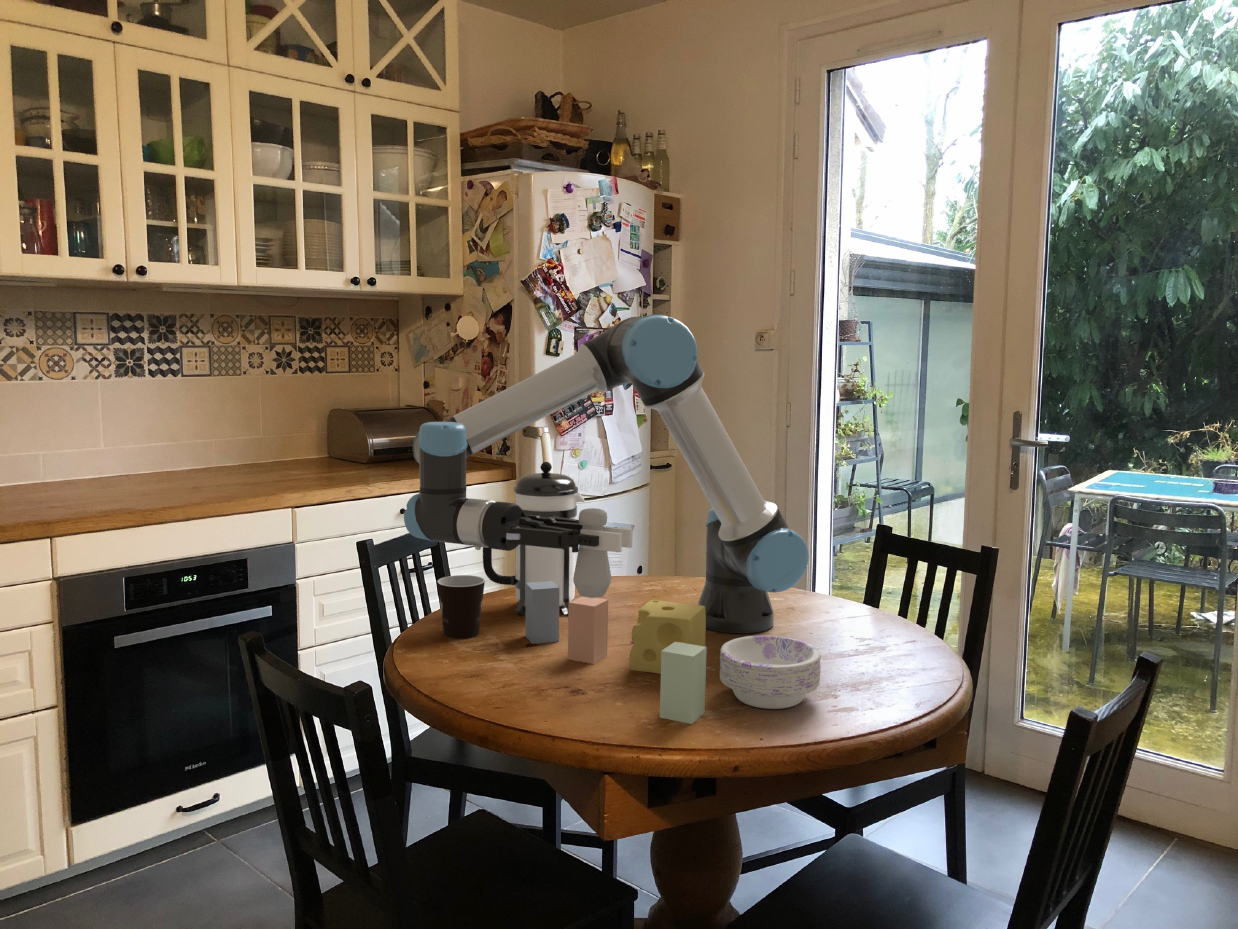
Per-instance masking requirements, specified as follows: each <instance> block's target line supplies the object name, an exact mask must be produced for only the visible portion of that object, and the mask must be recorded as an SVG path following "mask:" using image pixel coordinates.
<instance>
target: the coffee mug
mask: <svg viewBox="0 0 1238 929" xmlns="http://www.w3.org/2000/svg"><path fill="white" fill-rule="evenodd" d="M436 582H437V591H438V596H439V606H440V613H441V622H442V630H443V635H444V636H445V638H450V639H455V640H463V639H464V640H465V639H471V638H475V637H477V636H478V635H479V634H480V626H481V618H482V609H483V601H484V591H485V582H486V579H485V578H484V577H481V576H477V575H470V574H469V575H467V574H466V575H464V574H462V575H461V574H459V575H458V574H457V575H450V576H444V577H441V578H439V579H437V581H436Z"/></svg>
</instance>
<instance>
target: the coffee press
mask: <svg viewBox="0 0 1238 929" xmlns="http://www.w3.org/2000/svg"><path fill="white" fill-rule="evenodd" d="M540 469H541V472H538V473H531V474H526V475H523V476H521V477H520V478H519V479H518V480H517V481H516V484H515V486H513V492H514V494H515V504H517V505H519V506H520V507H521V509H522V510H523V513H524V515H525V516H526V517H527V518H528V515H539V516H540V517H547V516H548V515H553V516H557V517H561V518H569V519H576V518H577V517H576V516H577V514H578V506H577V503H584V502H586V500H585V498H584V497H583V496H582V494H581V493H580V492H579V488H578V486H577V485H576V482H575V480H574V479H573V478H571V476H569V475H565V474H561V473H554V472H553V473H551V470H552V469H553V467H552V464H551V463H550V462H548V461H543V462H542V463H541V464H540ZM576 520H577V519H576ZM492 552H493V549H491V548H485V547H482V565H483V571H484V573H485V576H486V577H487V578H488V579H489V580H490V581H491V582H493V583H495V584H499V585H505V586H506V585H508V586H514V587H515V598H516V600H517V602H518V603H517V605H516V608H515V610H514V612H515V614H517V615H520V616H524V615H526V583H531V582H546V581H553V582H554V583H555V584H556V585H557V586H558V587H559V610H561V612H562V614H563V615H564V616H568V608H569V602H571V601H573V600H575V599H574V598H575V591H576V586H575V584H574V582H573V577H574V572H575V567H576V552H575V553H574V552H572V547H569V549H566V550H563V549H557V548H547V547H538V546H528V545H518V546H517V547H516V548H515V575H501V574H498V573H497V572H496V571H495V570H494V568H493V559H492V558H493V554H492Z"/></svg>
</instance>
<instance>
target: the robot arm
mask: <svg viewBox="0 0 1238 929" xmlns="http://www.w3.org/2000/svg"><path fill="white" fill-rule="evenodd" d="M698 357H699V356H698V346H697V341H696V339H695V337H694V335H693V333H692V332H691V330H690V329H689V328H688V327H687V326H686V324H684V323H683V322H681V321H680V320H678V319H675V318H674V317H671V316H668V315H664V314H647V315H644V316H643V315H642V316H631V317H628V318H625V319H622V320H621V321H619V322H618V323H615V324H614V325H612V326H610V328H608V329H606V330H605V331H602V332H601V333H600V334H598V335H597V336H595V337H593V338H591V339H589V340H588V341H586V342H584V343H581V344H580V345H579V348H578V350H577V352H576V353H574V354H573V355H571V356H569V357H567V358H565V359H563V360H561V361H559V362H557V363H555V364H553V365H551V366H549V367H547V368H545V369H543V370H541V371H539V372H538V373H534V374H533V375H531V376H529V377H527V378H524V380H521V381H519V382H518V383H516V384H514V385H512V386H509V387H508V388H506V389H504V390H502V391H500V392H497V393H496V394H494V395H492V396H490V397H488V398H486V399H484V400H482V401H480V402H478V403H476V404H474V405H472V406H470V407H468V408H466V409H464V410H462V411H460V412H458V413H456V414H455V415H452V416H451V417H449V418H447V419H445V420H443V421H428V422H424V423H422V424H421V425H420V426H419V431H418V433H417V434H416V435H415V437H414V439H413V443H412V452H413V458H414V459H415V461H416V462H417V463H418V466H419V467H418V468H419V470H418V471H419V491H418V493H416V494H414V495H412V496H411V497H410V498H409V500H407V503H406V506H405V507H406V510H404V512H403V522H404V526H405V528H406V531H407V532H408V533H409V534H410V535H411V536H413V537H414V538H418V539H422V540H427V541H429V542H433V543H447V544H455V545H456V544H458V545H465V546H474V550H476V551H480V550H482V549H481V548H483V547H485V548H491V549H492V550H500V551H506V552H510V551H514V550H516V547H517V546H518V545H528V546H538V547H547V548H557V549H563V550H566V549H569V547H572V552H574V553H575V554H576V553H578V550H579V545H580V548H588V549H596V550H604V551H607V552H612V553H622V549H623V548H627V549H628V548H629V549H631V548H633V537H634V535H633V531H634V530H633V528H625V527H614V526H606V525H604V526H603V529H604V531H597V530H587V529H582V527H583V526H582V525H580V524H579V519H569V518H561V517H557V516H553V515H548V516H547V517H540V516H539V515H528V518H527V517H526V516H525V515H524V513H523V510H522V509H521V507H520V506H519V505H517V504H516V502H507V501H506V502H505V501H495V500H490V499H481V498H480V499H479V498H468V497H467V458H468V457H471V456H472V455H474V454H475V453H477V452H480V451H482V450H484V449H485V448H487V447H489V446H491V445H493V444H496V442H499V441H501V440H503V439H505V438H507V437H508V436H511V435H513V434H514V433H518V431H521V430H523V429H524V428H527V427H528V426H530V425H532V424H534V423H536V422H538V421H540V420H542V419H544V418H546V417H548V416H550V415H551V414H555V413H556V412H558V411H559V410H562V409H563V408H565V407H567V406H569V405H572V404H573V403H575V402H577V401H580V400H581V399H583V398H585V397H587V396H589V395H591V394H593V393H595V392H601V393H604V394H605V393H607V392H609V391H611V390H612V389H614V388H617V387H619V386H620V387H621V386H623V385H627V384H631V385H632V386H633V388H634V390H635V391H636V393H637V395H638V397H639V399H640V400H641V402H642V404H643V406H644V407H645V408H647V409H652V410H655V411H657V412H658V414H659V416H660V417H661V420H662V421H663V423H664V425H665V426H666V429H667V430H668V432H669V433H670V435H671V437H672V438H673V441H674V443H675V444H676V447H677V448H678V449H679V451H680V453H681V455H682V456H683V459H684V460H685V462H686V464H687V465H688V467H689V469H690V470H691V472H692V474H693V476H694V478H695V480H696V481H697V483H698V484H699V486H700V488H701V490H702V492H703V494H704V495H705V497H706V499H707V500H708V503H709V504H710V506H711V508H709V510H708V513H707V520H706V523H705V527H706V543H705V544H706V548H705V550H706V552H705V582H704V586H703V588H702V590H701V594H700V597H699V599H698V603H697V605H701V606H705V613H706V630H711V631H715V632H720V633H727V634H752V633H761V632H764V631H767V630H769V629H771V628H773V627H774V623H775V622H774V621H775V620H774V619H775V617H774V615H775V613H774V610H773V606H772V602H771V599H770V596H769V593H770V594H771V593H782V592H786V591H787V590H789V589H791V588H793V587H794V586H795V585H797V584H798V583H799V582H800V581H801V579H802V578H803V577H804V574H805V573H806V569H807V566H808V565H809V560H810V556H809V555H810V554H809V549H808V546H807V543H806V541H805V540H804V538H803V537H802V536H801V535H800V534H799V533H798V532H797V531H795V530H793V529H791V528H790V527H789V526H788V524H787V522H786V521H785V518H784V516H783V514H782V513H781V511H780V509H779V507H778V505H777V504H776V503H774V502H771V501H768V500H764V497H763V495H762V494H761V492H760V491H759V489H758V487H757V485H756V483H755V481H754V479H753V477H752V476H751V474H750V471H748V468H747V467H746V465H745V463H744V462H743V459H742V458H741V456H740V454H739V452H738V451H737V450H738V449H736V447H735V445H734V443H733V441H732V440H731V437H730V436H729V434H728V432H727V431H726V429H725V426H724V425H723V423H722V421H721V419H720V418H719V415H718V414H717V412H716V410H715V409H714V407H713V404H712V403H711V400H709V397H708V396H707V394H706V392H705V390H704V389H703V386H702V384H703V380H704V377H705V371H704V369H703V368H702V366H701V364H700V363H699V361H698Z"/></svg>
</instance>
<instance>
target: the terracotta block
mask: <svg viewBox="0 0 1238 929" xmlns="http://www.w3.org/2000/svg"><path fill="white" fill-rule="evenodd" d="M567 618H568V622H567V623H568V625H567V626H568V627H567V630H568V632H567V634H568V635H567V660H569V659H571V660H570V661H575V662H580V661H581V663H585V662H587V663H586V664H591V665H595V664H596V663H598V662H600V661H602V660H603V659H605V658H606V657H608V645H609V644H608V638H609V636H608V635H609V633H608V632H609V631H608V629H609V626H608V624H609V599H606V598H602V597H601V598H600V597H595V598H589V597H582V596H580V597H579V596H578V597H577V598H575V599H573V601H571V602H569V608H568V615H567Z"/></svg>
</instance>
